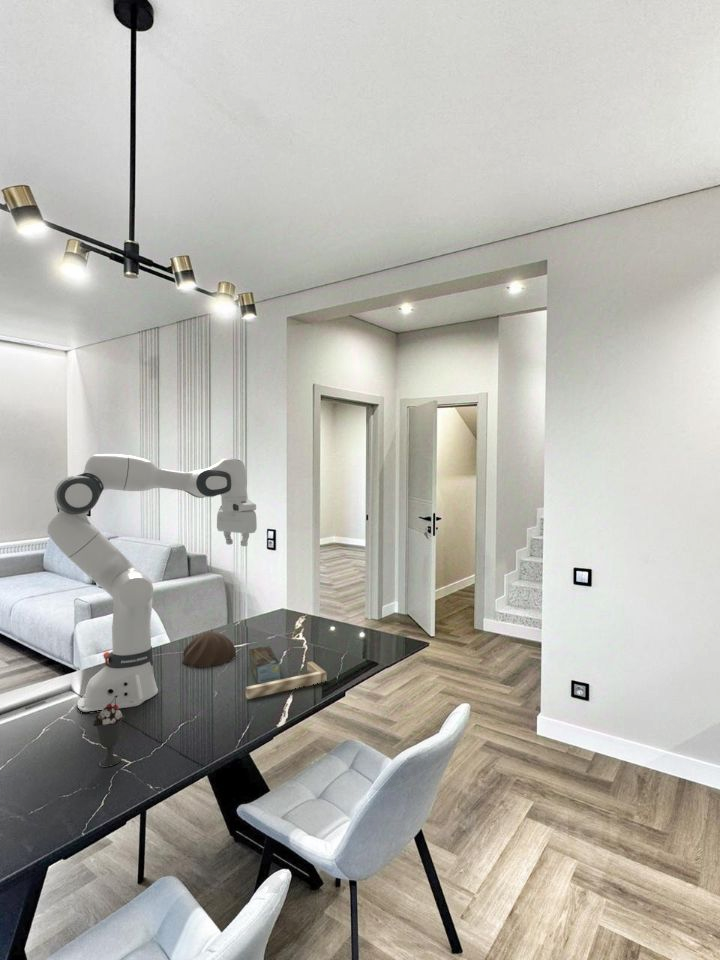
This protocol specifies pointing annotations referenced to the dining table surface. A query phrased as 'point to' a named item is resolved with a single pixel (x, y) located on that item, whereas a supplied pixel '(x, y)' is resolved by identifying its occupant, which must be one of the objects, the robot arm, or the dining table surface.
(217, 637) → the decorative dome
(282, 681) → the oak fence
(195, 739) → the dining table surface
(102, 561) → the robot arm
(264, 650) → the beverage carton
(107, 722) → the sundae
